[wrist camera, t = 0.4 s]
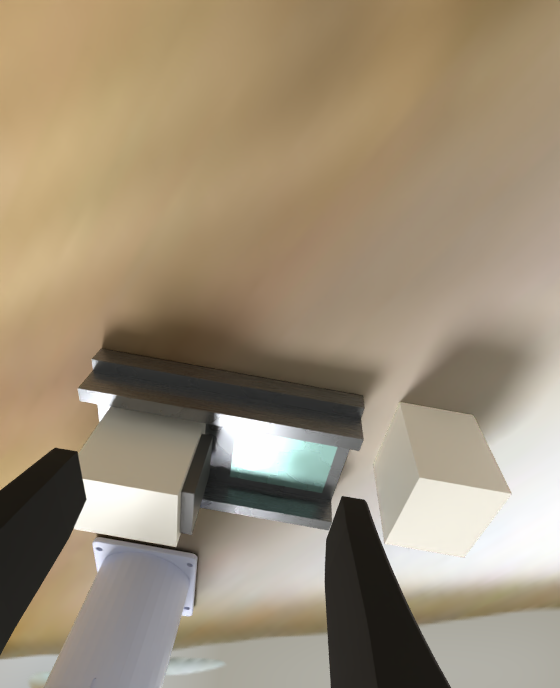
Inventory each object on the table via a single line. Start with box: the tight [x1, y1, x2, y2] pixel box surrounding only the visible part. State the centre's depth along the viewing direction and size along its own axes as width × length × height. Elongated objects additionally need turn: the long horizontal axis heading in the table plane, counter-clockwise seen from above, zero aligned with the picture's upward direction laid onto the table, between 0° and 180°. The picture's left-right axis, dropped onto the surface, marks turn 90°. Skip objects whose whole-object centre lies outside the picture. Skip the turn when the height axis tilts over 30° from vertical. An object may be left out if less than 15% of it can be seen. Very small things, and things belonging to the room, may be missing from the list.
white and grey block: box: [74, 406, 213, 547], centre depth 20 cm, size 4×6×5 cm
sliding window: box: [78, 349, 364, 530], centre depth 22 cm, size 9×14×2 cm, turn 81°
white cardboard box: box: [373, 402, 512, 558], centre depth 20 cm, size 4×6×5 cm
